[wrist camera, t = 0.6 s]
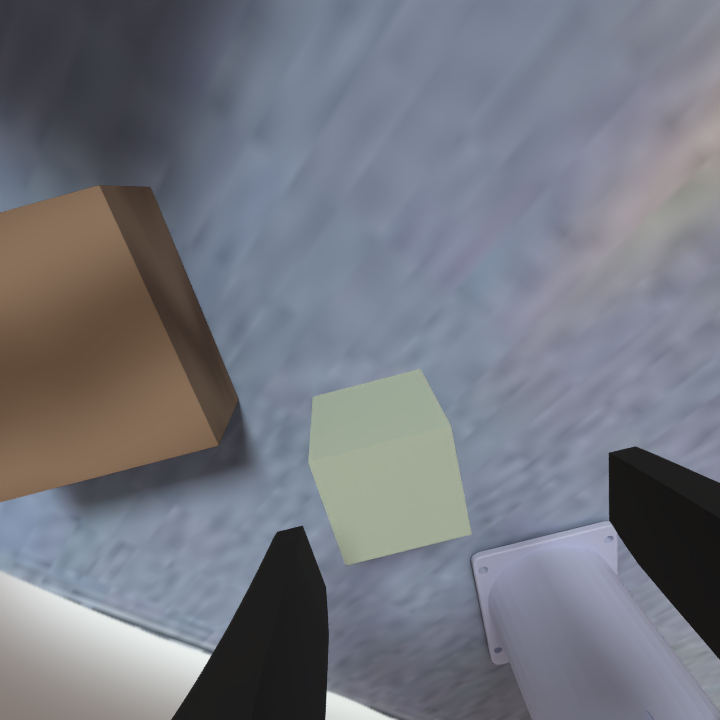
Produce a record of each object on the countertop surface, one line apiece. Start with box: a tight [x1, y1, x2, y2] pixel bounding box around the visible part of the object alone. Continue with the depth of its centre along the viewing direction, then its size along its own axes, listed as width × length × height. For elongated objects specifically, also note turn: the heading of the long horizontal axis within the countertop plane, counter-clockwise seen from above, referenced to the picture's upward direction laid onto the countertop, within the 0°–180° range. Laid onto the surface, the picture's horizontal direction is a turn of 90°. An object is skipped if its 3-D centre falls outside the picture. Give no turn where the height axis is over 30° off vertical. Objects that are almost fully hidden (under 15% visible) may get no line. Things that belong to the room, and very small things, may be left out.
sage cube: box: [308, 369, 471, 565], centre depth 17 cm, size 5×5×5 cm
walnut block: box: [0, 185, 239, 502], centre depth 15 cm, size 9×9×4 cm
